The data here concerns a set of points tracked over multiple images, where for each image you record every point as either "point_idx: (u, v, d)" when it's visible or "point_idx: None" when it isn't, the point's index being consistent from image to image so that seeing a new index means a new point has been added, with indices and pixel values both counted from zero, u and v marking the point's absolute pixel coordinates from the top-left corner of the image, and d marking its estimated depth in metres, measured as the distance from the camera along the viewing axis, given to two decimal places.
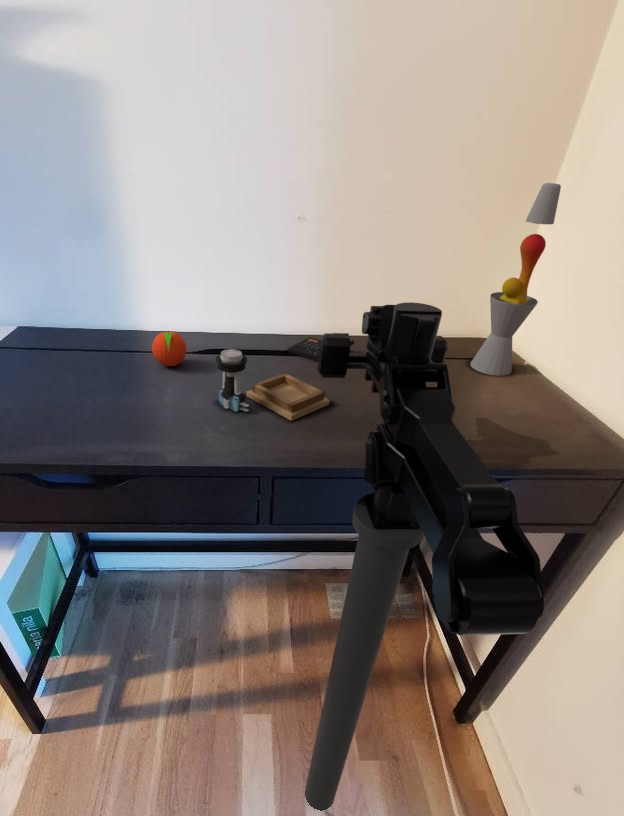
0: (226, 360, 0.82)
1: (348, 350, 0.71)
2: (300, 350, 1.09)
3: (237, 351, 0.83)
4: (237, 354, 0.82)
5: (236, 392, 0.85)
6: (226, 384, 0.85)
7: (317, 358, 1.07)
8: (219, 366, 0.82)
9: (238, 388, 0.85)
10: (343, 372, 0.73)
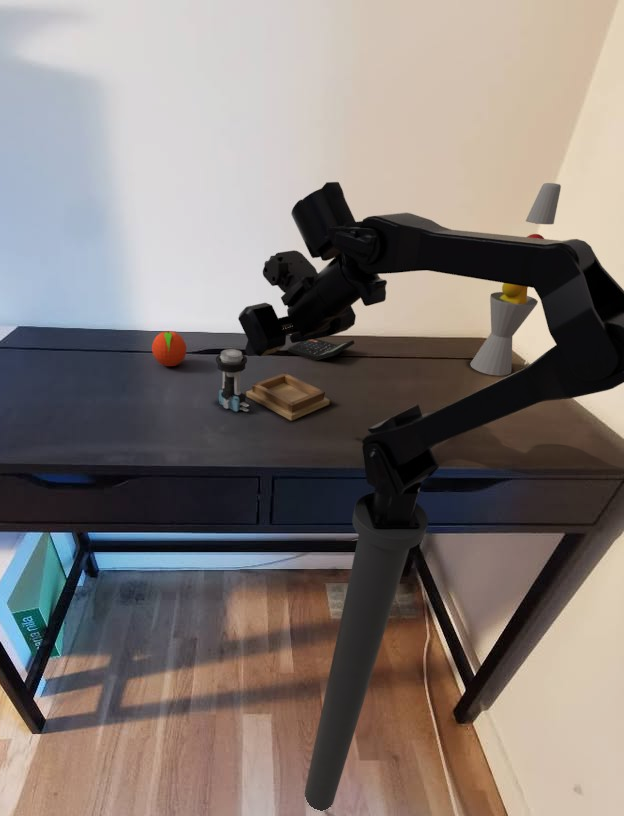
0: (226, 360, 0.82)
1: (272, 309, 0.64)
2: (300, 350, 1.09)
3: (237, 351, 0.83)
4: (237, 354, 0.82)
5: (236, 392, 0.85)
6: (226, 384, 0.85)
7: (317, 358, 1.07)
8: (219, 366, 0.82)
9: (238, 388, 0.85)
10: (282, 333, 0.64)
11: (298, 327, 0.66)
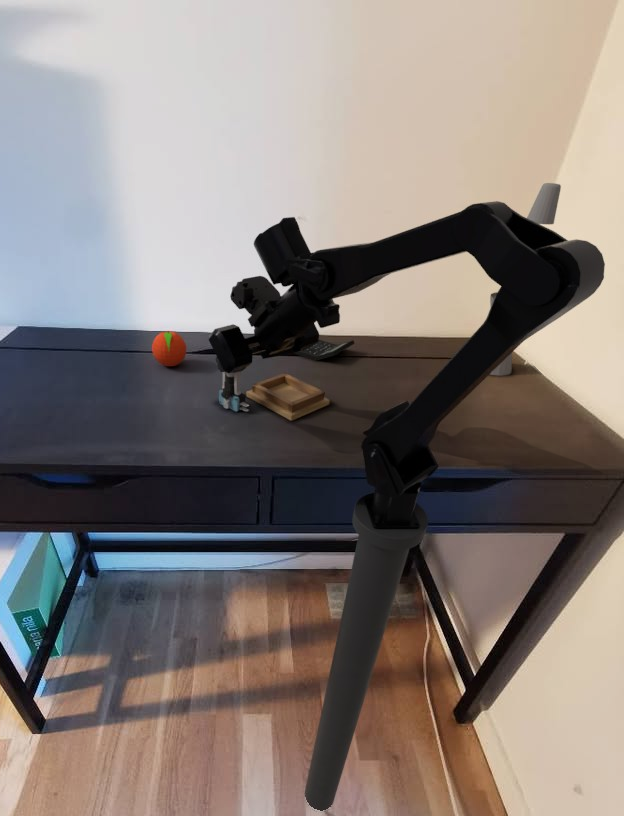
0: None
1: (239, 330, 0.70)
2: None
3: None
4: None
5: (236, 392, 0.85)
6: (226, 384, 0.85)
7: (317, 358, 1.07)
8: None
9: (238, 388, 0.85)
10: (249, 352, 0.70)
11: (264, 346, 0.72)
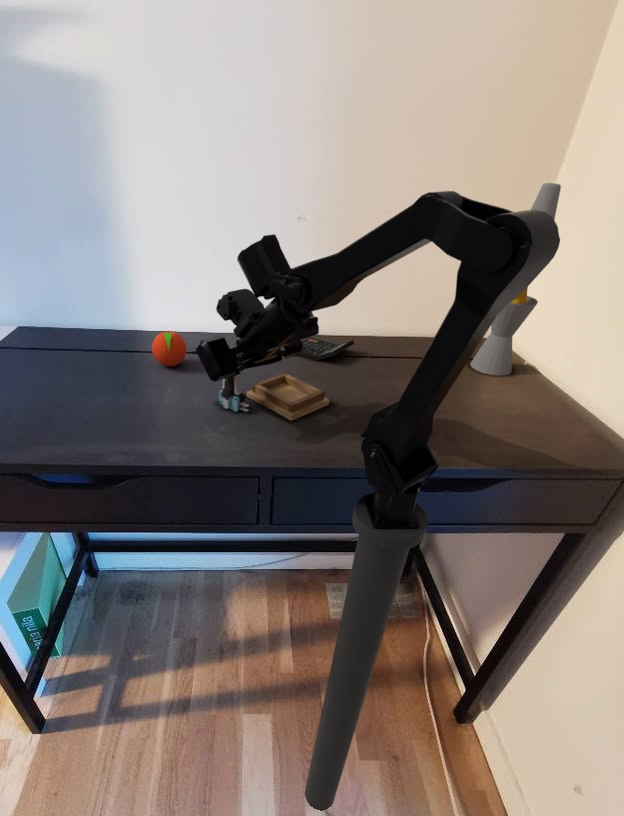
0: None
1: (225, 341, 0.73)
2: None
3: None
4: None
5: (236, 392, 0.85)
6: (226, 384, 0.85)
7: (317, 358, 1.07)
8: None
9: (238, 388, 0.85)
10: (233, 361, 0.73)
11: (249, 355, 0.76)
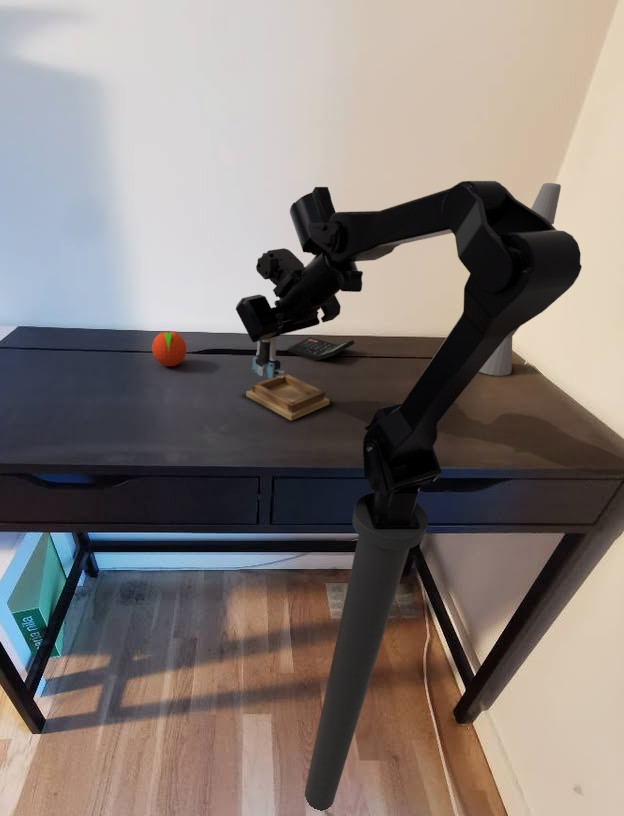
0: None
1: (266, 299, 0.72)
2: (300, 350, 1.09)
3: None
4: None
5: (271, 358, 0.84)
6: (261, 350, 0.84)
7: (317, 358, 1.07)
8: None
9: (274, 354, 0.83)
10: (275, 320, 0.72)
11: (289, 316, 0.74)
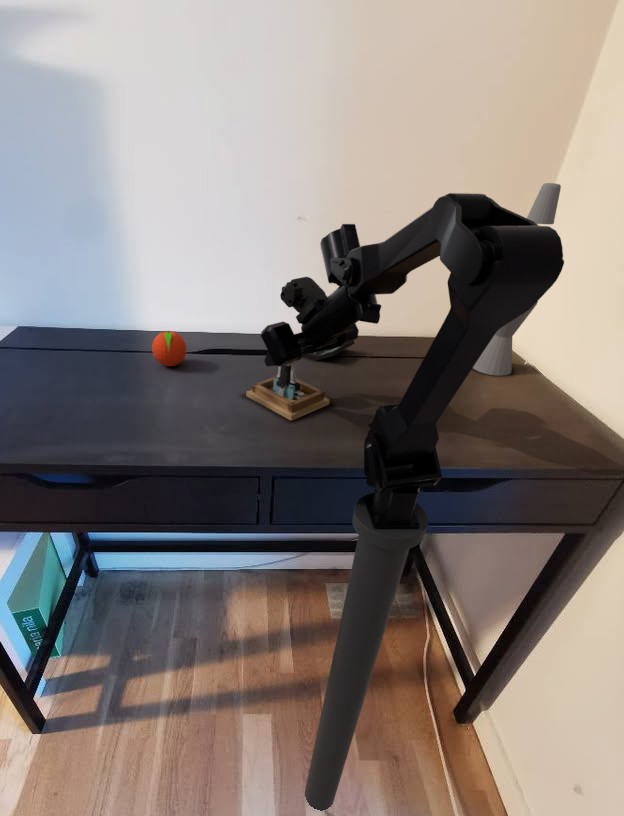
0: None
1: (289, 327, 0.76)
2: None
3: None
4: None
5: (292, 381, 0.88)
6: (282, 373, 0.88)
7: (317, 358, 1.07)
8: None
9: (294, 377, 0.87)
10: (298, 347, 0.76)
11: (311, 341, 0.78)
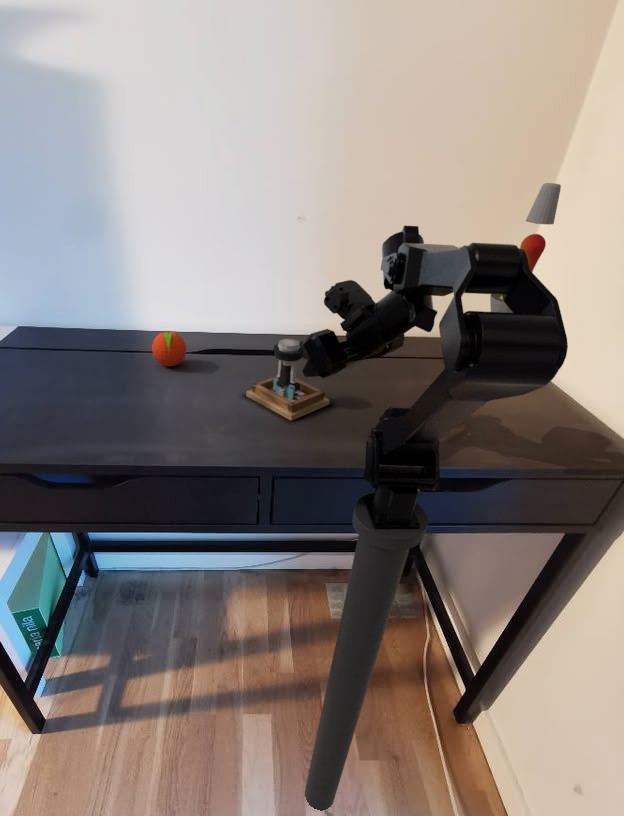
0: (285, 349, 0.84)
1: (334, 335, 0.69)
2: None
3: (295, 341, 0.86)
4: (295, 343, 0.85)
5: (292, 381, 0.88)
6: (282, 373, 0.88)
7: None
8: (277, 355, 0.85)
9: (294, 377, 0.87)
10: (344, 356, 0.69)
11: (356, 350, 0.72)
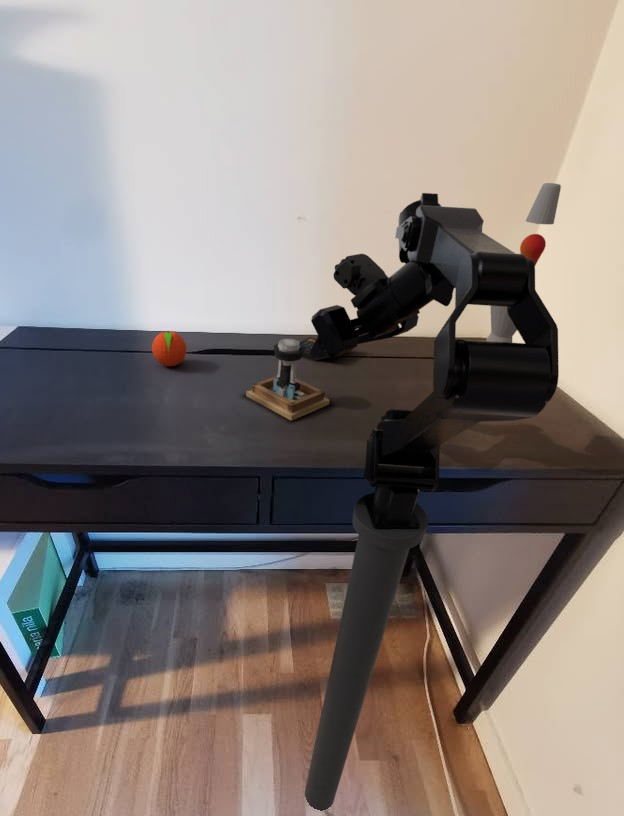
0: (285, 349, 0.84)
1: (345, 311, 0.65)
2: None
3: (295, 341, 0.86)
4: (295, 343, 0.85)
5: (292, 381, 0.88)
6: (282, 373, 0.88)
7: (317, 358, 1.07)
8: (277, 355, 0.85)
9: (294, 377, 0.87)
10: (355, 334, 0.65)
11: (368, 328, 0.67)
